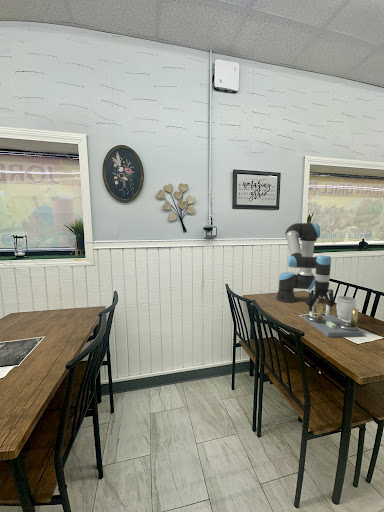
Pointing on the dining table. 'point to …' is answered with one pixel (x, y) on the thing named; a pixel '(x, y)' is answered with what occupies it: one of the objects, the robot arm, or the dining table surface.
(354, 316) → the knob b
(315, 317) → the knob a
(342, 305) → the jar
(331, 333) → the plate
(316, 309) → the figurine
